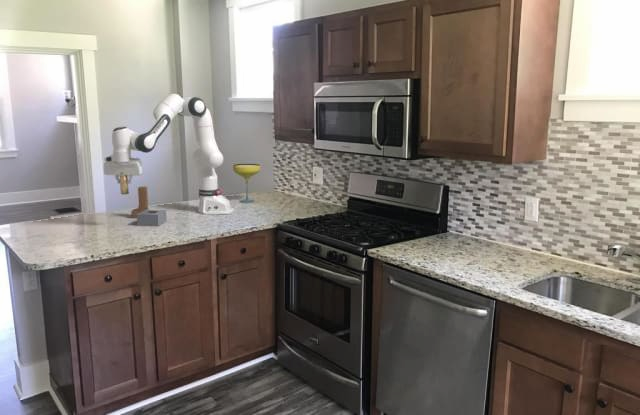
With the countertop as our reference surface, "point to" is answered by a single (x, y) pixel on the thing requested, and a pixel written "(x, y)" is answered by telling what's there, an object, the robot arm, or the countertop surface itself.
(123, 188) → the brass pin
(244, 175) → the cocktail glass
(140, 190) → the wooden block
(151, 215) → the hole holder
